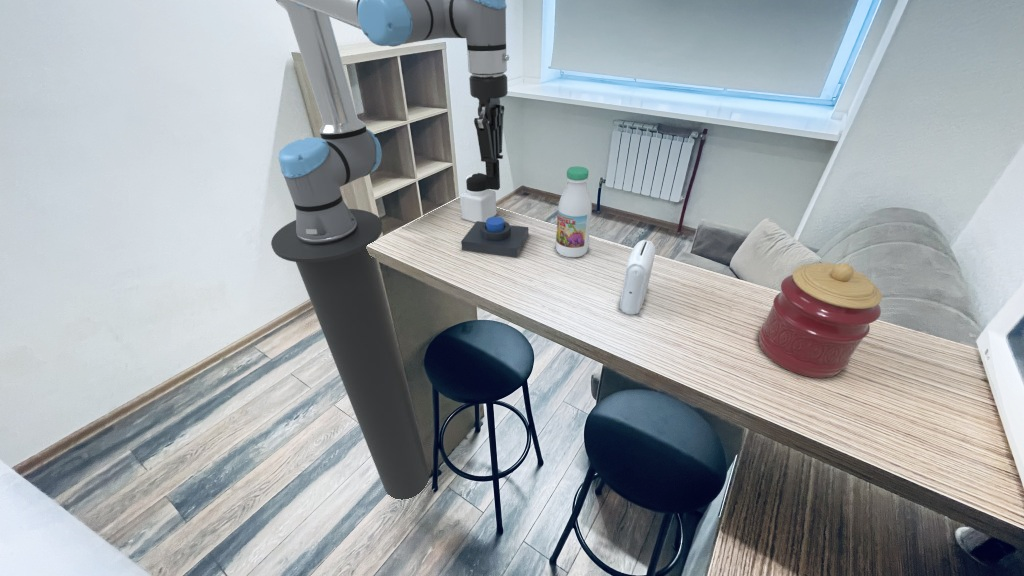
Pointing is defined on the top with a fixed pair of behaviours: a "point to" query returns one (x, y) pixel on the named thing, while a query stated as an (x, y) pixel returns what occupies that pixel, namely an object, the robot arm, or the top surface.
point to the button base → (495, 239)
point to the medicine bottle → (477, 199)
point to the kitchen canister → (820, 318)
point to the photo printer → (637, 277)
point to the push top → (495, 224)
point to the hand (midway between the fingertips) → (493, 188)
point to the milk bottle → (574, 215)
